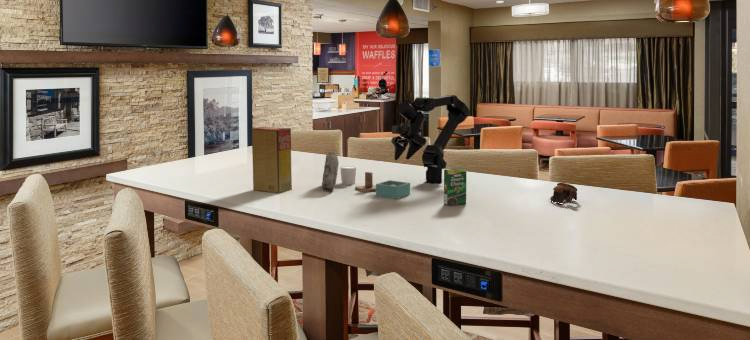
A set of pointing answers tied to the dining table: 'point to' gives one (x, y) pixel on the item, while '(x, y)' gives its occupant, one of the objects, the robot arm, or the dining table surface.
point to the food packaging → (271, 159)
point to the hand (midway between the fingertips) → (401, 159)
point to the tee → (367, 183)
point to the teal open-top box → (393, 189)
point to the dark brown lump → (564, 193)
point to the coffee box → (454, 186)
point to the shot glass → (348, 174)
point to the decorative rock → (330, 171)
